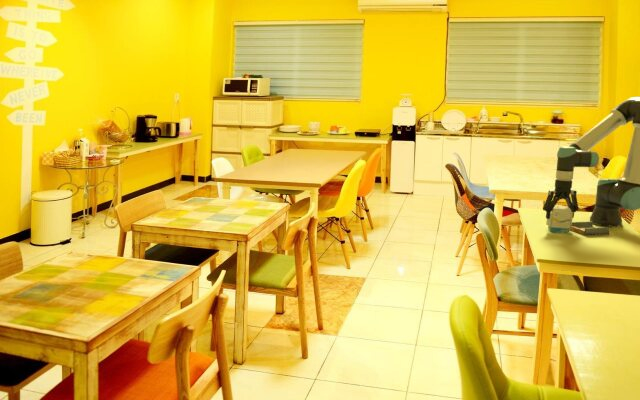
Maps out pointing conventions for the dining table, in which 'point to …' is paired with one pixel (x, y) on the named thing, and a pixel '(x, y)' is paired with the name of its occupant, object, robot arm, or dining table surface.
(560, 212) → the ink box
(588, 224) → the grey and orange tray
